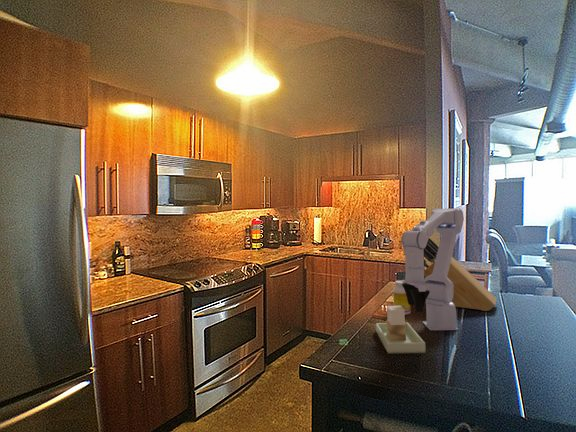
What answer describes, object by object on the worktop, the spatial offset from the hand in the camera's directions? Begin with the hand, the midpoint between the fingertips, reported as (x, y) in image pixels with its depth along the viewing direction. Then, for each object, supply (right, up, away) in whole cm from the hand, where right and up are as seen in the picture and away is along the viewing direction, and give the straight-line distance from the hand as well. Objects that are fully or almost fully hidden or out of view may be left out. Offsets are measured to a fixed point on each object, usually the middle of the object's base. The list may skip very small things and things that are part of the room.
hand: (415, 307), depth 110 cm
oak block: (-6, -10, +1) cm, 12 cm away
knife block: (+28, -8, +36) cm, 46 cm away
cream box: (-6, -5, +1) cm, 8 cm away
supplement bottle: (+5, -10, +26) cm, 28 cm away
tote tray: (-6, -11, -1) cm, 12 cm away
